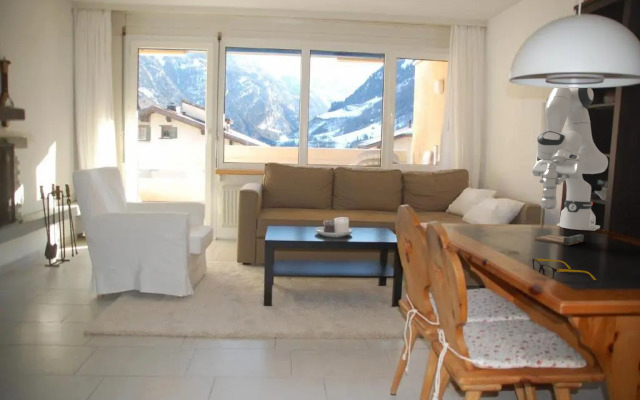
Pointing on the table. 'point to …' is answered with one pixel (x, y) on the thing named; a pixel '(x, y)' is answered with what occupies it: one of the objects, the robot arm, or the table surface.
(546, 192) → the plastic bottle
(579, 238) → the walnut board
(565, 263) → the eyeglasses
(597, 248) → the table surface
